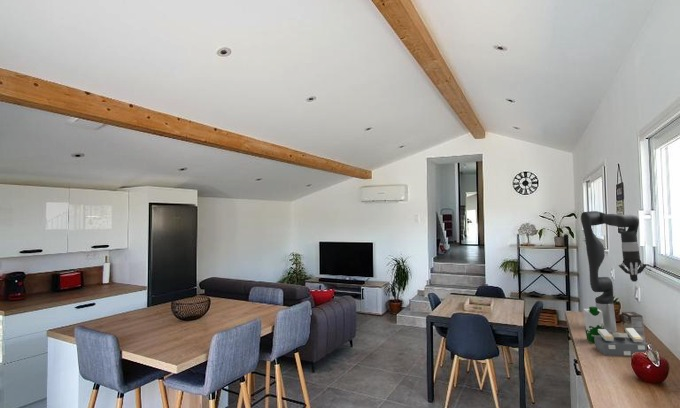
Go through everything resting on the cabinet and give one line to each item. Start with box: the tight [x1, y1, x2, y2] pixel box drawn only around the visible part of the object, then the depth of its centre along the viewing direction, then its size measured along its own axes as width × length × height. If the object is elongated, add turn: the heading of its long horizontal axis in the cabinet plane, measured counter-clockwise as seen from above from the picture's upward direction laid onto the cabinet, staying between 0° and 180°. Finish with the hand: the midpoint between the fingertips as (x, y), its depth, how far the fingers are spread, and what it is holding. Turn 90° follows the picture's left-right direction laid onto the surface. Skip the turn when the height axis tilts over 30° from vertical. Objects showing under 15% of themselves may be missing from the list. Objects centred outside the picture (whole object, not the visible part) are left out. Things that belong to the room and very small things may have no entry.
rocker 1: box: [598, 329, 615, 341], centre depth 199 cm, size 10×4×2 cm, turn 165°
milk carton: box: [582, 306, 604, 344], centre depth 215 cm, size 9×9×20 cm
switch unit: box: [594, 336, 650, 357], centre depth 197 cm, size 13×20×7 cm, turn 74°
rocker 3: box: [625, 328, 643, 342], centre depth 195 cm, size 10×4×2 cm, turn 166°
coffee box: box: [621, 311, 646, 342], centre depth 209 cm, size 9×6×16 cm
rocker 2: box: [611, 332, 628, 337], centre depth 197 cm, size 10×4×2 cm, turn 163°
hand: (634, 281), depth 205 cm, fingers closed
